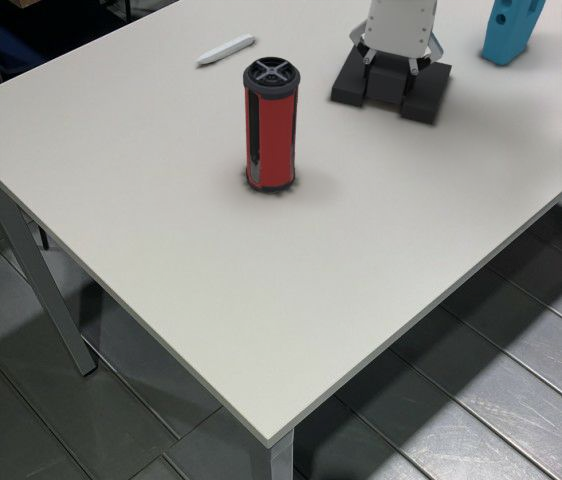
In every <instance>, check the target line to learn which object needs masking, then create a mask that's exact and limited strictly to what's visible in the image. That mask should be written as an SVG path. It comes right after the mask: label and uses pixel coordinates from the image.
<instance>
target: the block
mask: <svg viewBox="0 0 562 480" xmlns="http://www.w3.org/2000/svg"><path fill="white" fill-rule="evenodd" d="M546 1H547V0H494V2H493V5H492V8H491V12H490V13H489V14H490V15H489V17H488V20H487V26H486V30H485V36H484V42H483V47H482V53H481V56H482V58H484V59H486V60H488V61H489V62H492V63H494V64H496V65H498V66H506V65H508V63H510V62H511V61H512V60H513V59H515V58H516V57H517V56H518V55H520V54H521V53H522V52H523V51H524V50H525V49H526V46H527V45H528V42H529V40H530V38H531V36H532V34H533V31H534V29H535V27H536V25H537V23H538V20H539V19H540V16H541V14H542V12H543V9H544V6H545V5H546Z"/></svg>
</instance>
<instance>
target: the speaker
mask: <svg viewBox="0 0 562 480" xmlns="http://www.w3.org/2000/svg"><path fill="white" fill-rule="evenodd" d="M301 79H302V78H301V72H300V70H299V69H298V68H297V67H296V66H295V65H294V64H293V63H291V62H290V61H289V60H288V59H286V58H282V57H279V56H264V57H260V58H258V59H256V60H254V61H253V62H252V63H250V64H249V65H248V66H247V67H245V69H244V70H243V72H242V84H243V88H244V111H245V113H244V114H245V145H246V147H245V149H246V151H245V152H246V167H245V179H246V181H247V183H248V184H249V185H250V186H251V187H252V188H254V189H256V190H257V191H260V192H264V193H279V192H282V191H284V190H286V189H289V188H290V187H291V186H292V185H293V184H294V182H295V180H296V166H295V163H296V161H295V160H296V139H297V138H296V137H297V117H298V103H299V86H300V84H301Z"/></svg>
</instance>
